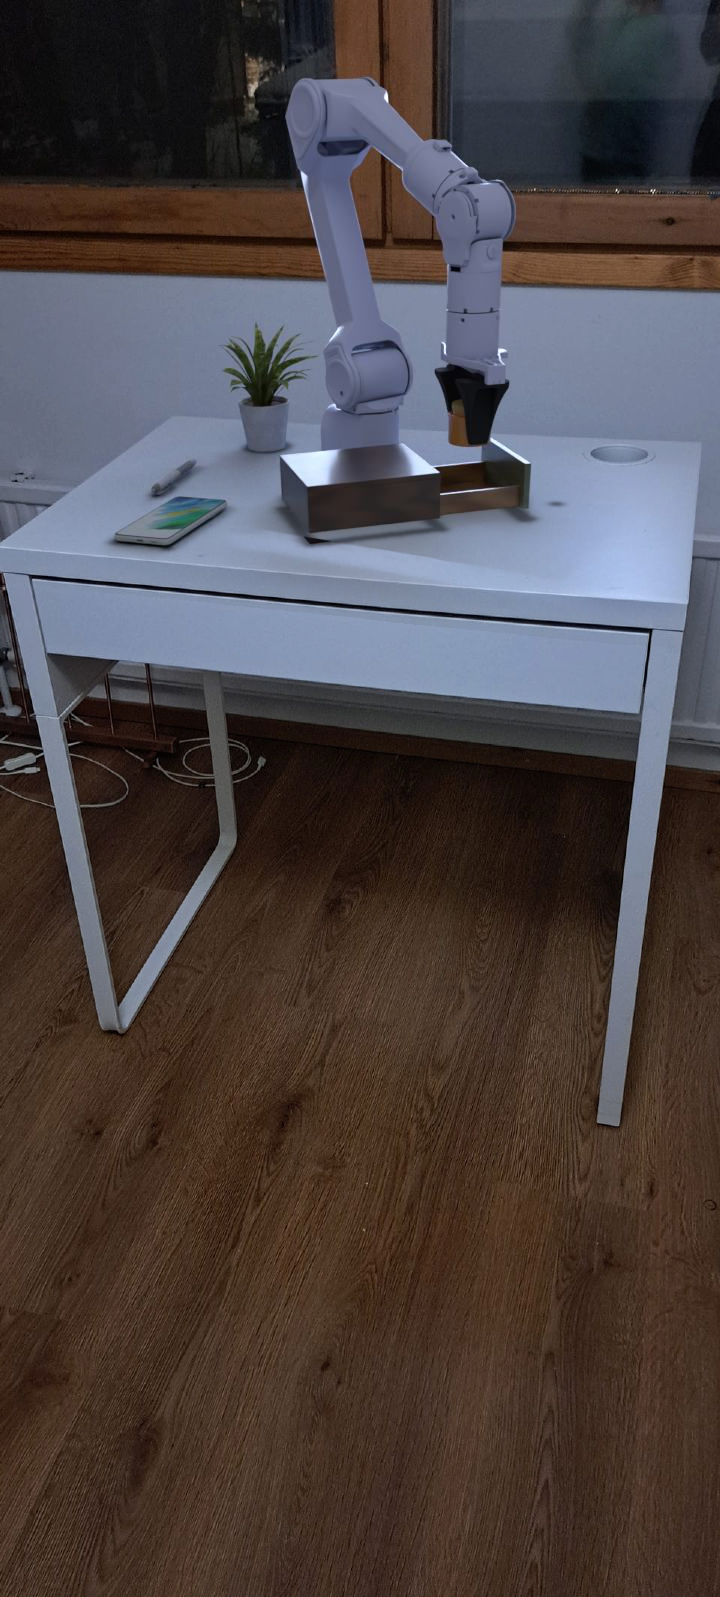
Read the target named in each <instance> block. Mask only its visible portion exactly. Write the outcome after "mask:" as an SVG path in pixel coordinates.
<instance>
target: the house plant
mask: <svg viewBox="0 0 720 1597" xmlns="http://www.w3.org/2000/svg"><path fill="white" fill-rule="evenodd" d="M284 327H285V325H282V326H281V327H280V328H279V330H278V331H277V332H276V333H275V334H274V335H273V338H272V339H271V341H270V343H269V344H268V346H267V345H266V342H265V339H264V338H263V332H262V331H261V329H259V325H258V324H257V322H255V324H254V345H253V353H252V350H251V348H250V347H249V345H248V343H247V342H246V341H245V340H244V339H242V338H240V337H237V336H234V338H235V339H238V340H240V341H241V342H242V343H243V344H244V345H245V347H246V349H247V350H248V353H249V355H250V357H251V360H252V363H253V366H252V363H251V361H250V358H249V357H248V354H247V353H246V352H245V351H244V349H243V348H242V347H241V346H240V345H239V344H238V343H237V342H236V341H235V340H233V339H231V338H232V336H230V337H231V338H228V340H229V342H230V343H229V342H228V341H226V340H225V343H226V344H222V345H219V347H221V348H222V350H224V351H225V352H226V353H228V354H229V356H230V357H231V358H232V359H233V360H234V361H235V363H236V364H237V365H238V366H239V368H240V370H242V372H243V373H241V372H240V371H239V370H237V369H235V368H233V367H232V368H231V367H227V368H224V369H222V370H221V372H224V373H227V374H229V375H232V376H234V377H235V378H237V379H231V381H230V385H229V388H231V391H230V393H232V392H234V391H235V390H238V389H244V390H245V391H246V392H247V393H248V394H249V396H247V397H243V398H241V399H240V400H238V402H237V404H238V409H239V414H240V418H241V423H242V427H243V431H244V436H245V440H246V445H247V449H248V450H249V451H252V452H259V453H260V452H261V453H271V452H277V451H281V450H283V449H284V448H285V447H286V439H287V431H288V419H289V410H290V402H291V401H290V399H289V398H288V397H285V396H283V395H282V396H281V395H278V394H279V393H280V392H281V391H282V390H283V389H284V388H285V389H286V390H287V391H289V382H290V381H293V380H298V379H299V380H301V379H303V380H307V381H309V382H310V379H308V378H306V377H308V375H307V374H306V373H304V371H311V370H313V369H309V368H307V369H301V370H291V371H288V372H287V371H286V372H285V373H284V374H283V372H284V371H285V370H286V369H287V368H289V367H291V366H293V365H295V364H297V363H300V362H302V361H306V360H310V359H316V358H317V357H319V355H305V356H297V357H294V358H293V357H292V358H290V359H287V358H288V357H289V356H290V355H291V354H292V353H294V352H295V351H300V350H303V348H295V347H297V346H300V345H303V344H307V343H313V342H314V340H313V341H312V340H311V341H310V340H309V341H305V342H304V341H303V342H300V343H298V344H295V345H292V346H291V344H292V343H293V342H294V340H296V338H298V337H299V336H300V335H302V334H303V332H302V333H301V332H300V333H297V334H295V335H293V336H292V337H291V338H289V339H288V340H287V341H286V342H285V343H283V346H282V347H281V348H280V349H279V351H278V352H277V353H276V355H275V356H273V355H274V350H275V347H279V344H277V342H278V339H279V337H280V335H281V333H282V332H283V330H284ZM224 347H226V348H228V349H229V350H231V351H232V352H233V353H234V354H235V356H236V357H237V358H238V359H239V361H240V363H241V364H240V363H239V361H238V360H237V359H236V358H235V357H234V356H233V355H232V354H231V352H230V351H229V350H228V349H226V348H224ZM266 347H267V349H266ZM293 348H295V349H293ZM291 349H292V350H291ZM290 350H291V351H290ZM289 351H290V352H289ZM288 352H289V353H288ZM286 353H288V354H287V355H286V356H285V354H286ZM284 356H285V358H284V359H283V357H284ZM272 359H273V360H272ZM282 359H283V361H282V362H281V360H282ZM286 359H287V360H286ZM280 362H281V363H280ZM243 374H244V375H245V376H244V375H243ZM292 374H294V375H292ZM298 374H301V375H298ZM290 375H292V376H290ZM303 375H305V376H306V377H304V376H303ZM287 376H289V377H287ZM286 377H287V378H286ZM238 379H239V380H238ZM240 384H242V385H243V386H242V387H241V386H237V385H240ZM281 386H282V387H281ZM280 387H281V388H280ZM279 388H280V390H279ZM278 390H279V391H278ZM277 391H278V392H277ZM276 392H277V394H276ZM230 393H229V394H230ZM275 394H276V395H275Z"/></svg>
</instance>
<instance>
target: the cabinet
mask: <svg viewBox="0 0 720 1597" xmlns="http://www.w3.org/2000/svg"><path fill="white" fill-rule="evenodd" d="M432 466H433V465H432V464H430V463H429V462H428V461H427V460H425V459H424V458H422V457H421V456H420V455H418V454H417V452H415V451H413V450H412V449H411V448H410V447H409V446H407V445H406V444H405V443H403V442H402V443H399V444H390V445H380V446H370V447H360V448H349V449H339V450H329V451H320V450H318V451H310V452H309V451H308V452H300V453H299V452H298V453H289V454H279V472H280V473H279V474H280V489H281V490H280V492H281V500H282V501H283V503H284V504H285V505H286V506H287V508H288V509H289V510H290V512H291V513H292V514H293V515H294V516H295V518H296V519H297V520H298V522H299V523H300V524H301V525H302V526H303V528H304V529H305V530H306V532H307V533H308V534H317V533H325V532H332V531H333V532H335V531H342V530H352V529H359V528H367V527H377V526H386V525H397V524H404V523H413V522H421V521H429V520H438V519H441V515H440V480H441V478H440V476H441V473H440V472H439V471H437V470H436V469H435V468H434V467H432ZM303 538H304V539H305V540H306V541H307V543H308V544H309V545H313V544H323V543H332V542H333V543H334V540H329V539H322V538H318V537H317V538H316V537H310V536H307V535H306V536H305V535H304V536H303Z"/></svg>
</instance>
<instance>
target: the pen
mask: <svg viewBox="0 0 720 1597" xmlns="http://www.w3.org/2000/svg"><path fill="white" fill-rule="evenodd" d="M196 464H197V459H195V458H193V459H189V460H187V461H185V462H184V463H182V464H181V465H180V466H178V467H176V468H175V469H174V470H172V472H171V473H169V474H168V475H166V476H164V477H163V478H162V479H160V480H159V481H157V482H155V484H154V485H152V486H151V489H150V491H151V493H153V495H162V494H164V493H165V492H167V491H168V490H169V489H170V488H171V486H172V483H173V482H174V481H175V480H177V479H178V478H180V477H182V476H183V475H184V474H185V473H187V472H188V471H190V470H191V469H193V467H194V466H195V465H196Z"/></svg>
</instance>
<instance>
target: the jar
mask: <svg viewBox="0 0 720 1597" xmlns="http://www.w3.org/2000/svg"><path fill="white" fill-rule="evenodd" d="M447 427H448V429H447V442H448V444H450V445H452V446H454V447H460V448H478V447H482V446H484V445H487V444H489V443H490V439H491V438H492V437H491V436H492V432H491V433H490V436H489V440H488V443H487V444H479V445H470V444H468V440H467V435H466V424H465V413H464V407H463V402H462V399H460V400H456V401H453V402H452V411H450V412H449V417H448V424H447Z"/></svg>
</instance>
